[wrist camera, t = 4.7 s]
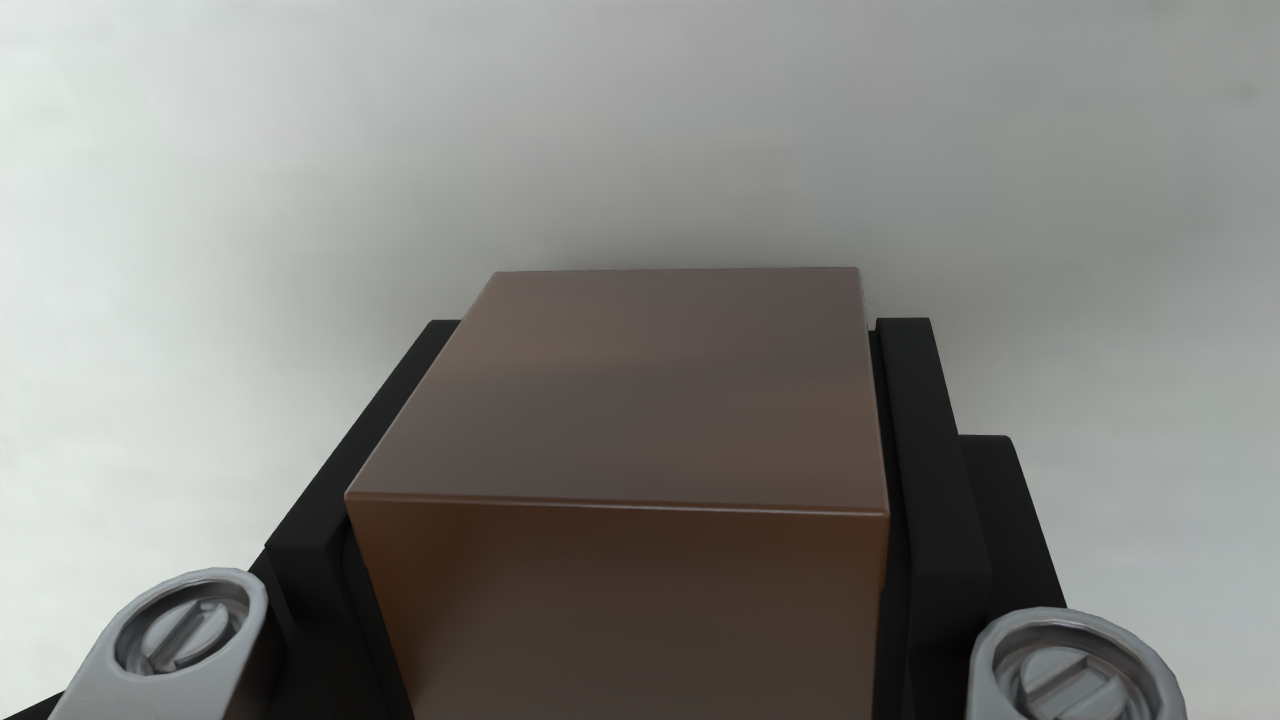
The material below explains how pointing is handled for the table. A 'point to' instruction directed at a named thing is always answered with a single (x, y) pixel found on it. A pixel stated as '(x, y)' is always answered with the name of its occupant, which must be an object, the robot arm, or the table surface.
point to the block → (637, 502)
